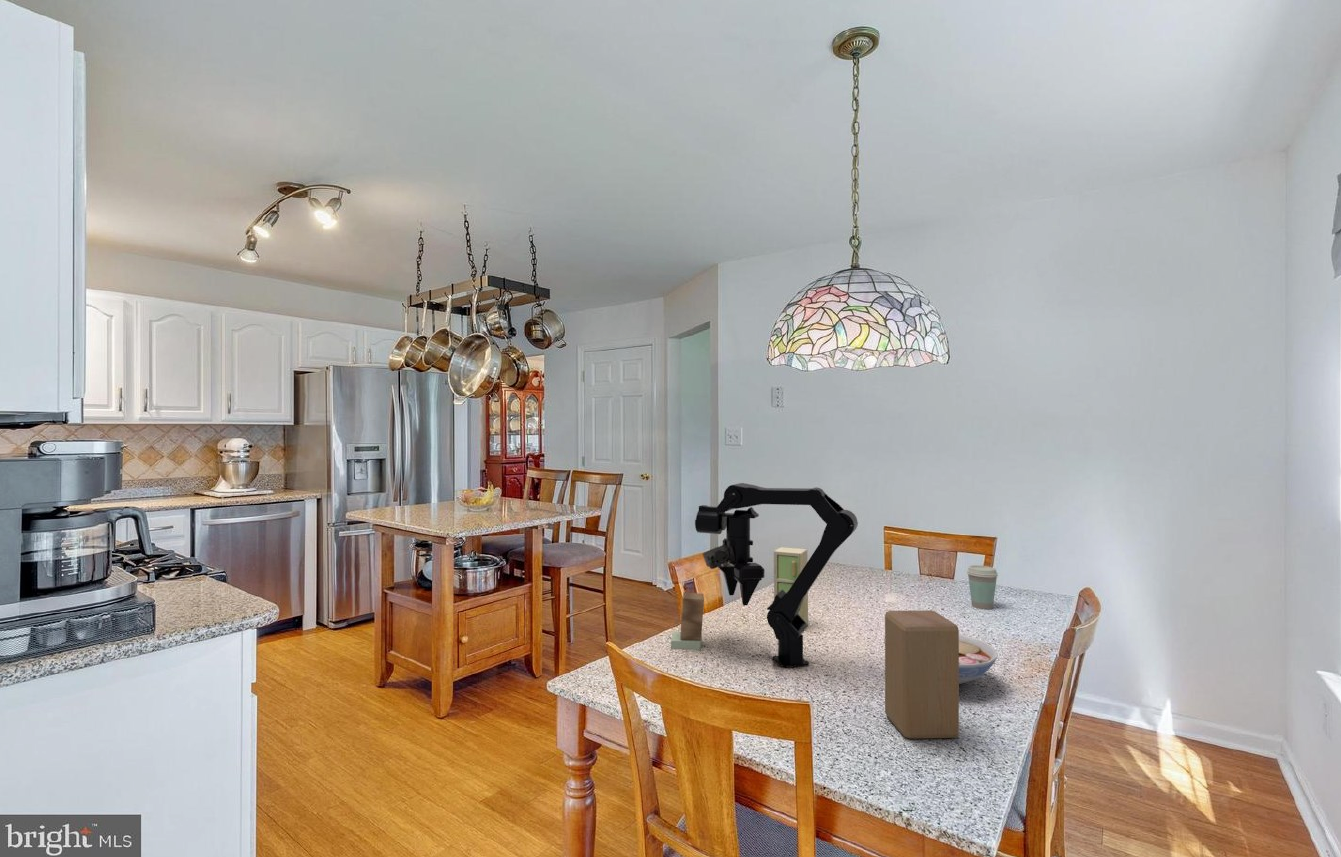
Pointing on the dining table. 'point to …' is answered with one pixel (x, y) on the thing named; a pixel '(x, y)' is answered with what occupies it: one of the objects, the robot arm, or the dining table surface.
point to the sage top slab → (684, 642)
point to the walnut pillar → (692, 616)
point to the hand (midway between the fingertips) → (738, 600)
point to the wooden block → (922, 674)
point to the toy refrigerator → (790, 573)
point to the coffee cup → (982, 586)
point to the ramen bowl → (974, 658)
